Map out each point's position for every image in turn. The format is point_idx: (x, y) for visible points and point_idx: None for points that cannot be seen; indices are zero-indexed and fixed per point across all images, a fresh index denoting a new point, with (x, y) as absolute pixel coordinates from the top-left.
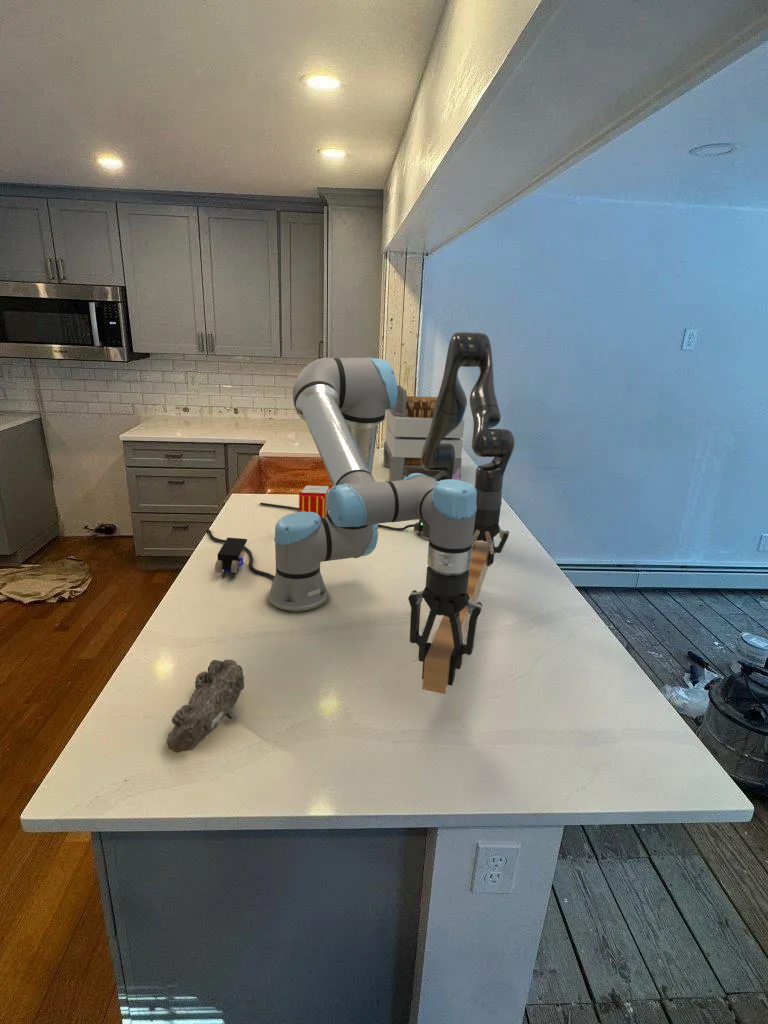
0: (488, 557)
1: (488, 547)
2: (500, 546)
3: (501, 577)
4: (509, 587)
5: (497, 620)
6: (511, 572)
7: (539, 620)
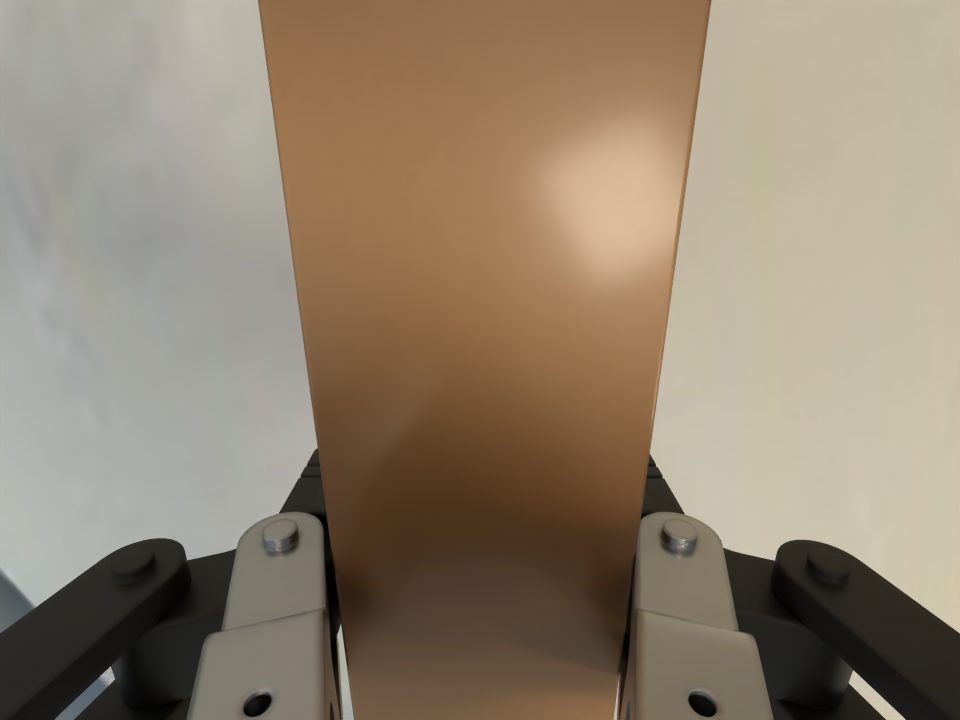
0: None
1: (366, 653)
2: (34, 659)
3: None
4: None
5: None
6: (343, 664)
7: (18, 163)
